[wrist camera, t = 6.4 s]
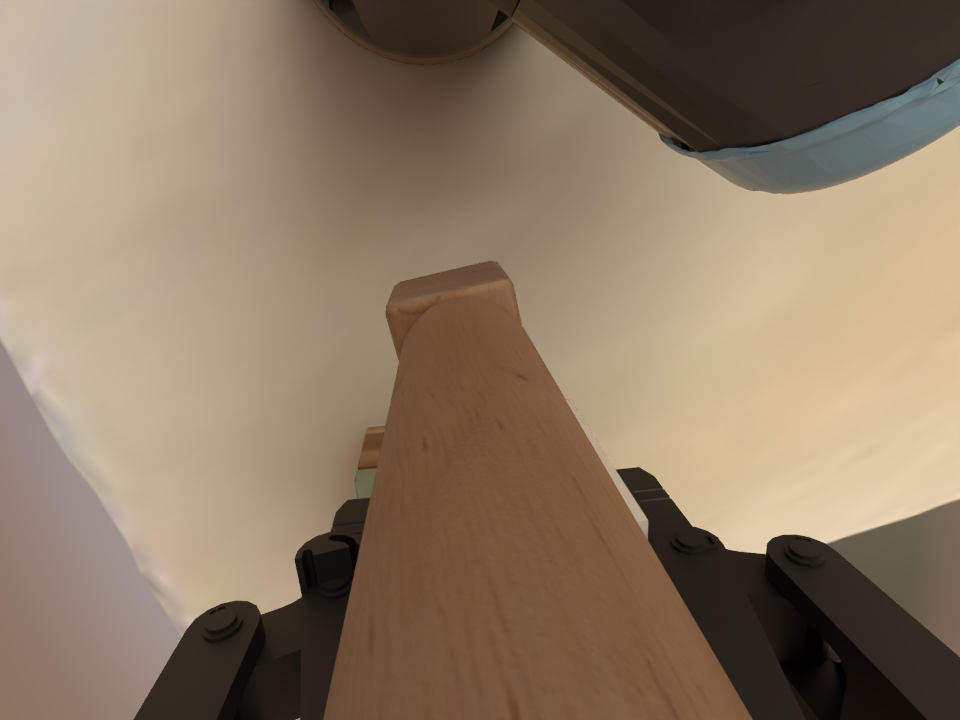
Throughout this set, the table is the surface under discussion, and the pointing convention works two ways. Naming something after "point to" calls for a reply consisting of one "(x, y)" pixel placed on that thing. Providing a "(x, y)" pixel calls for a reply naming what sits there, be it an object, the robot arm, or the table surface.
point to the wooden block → (504, 544)
